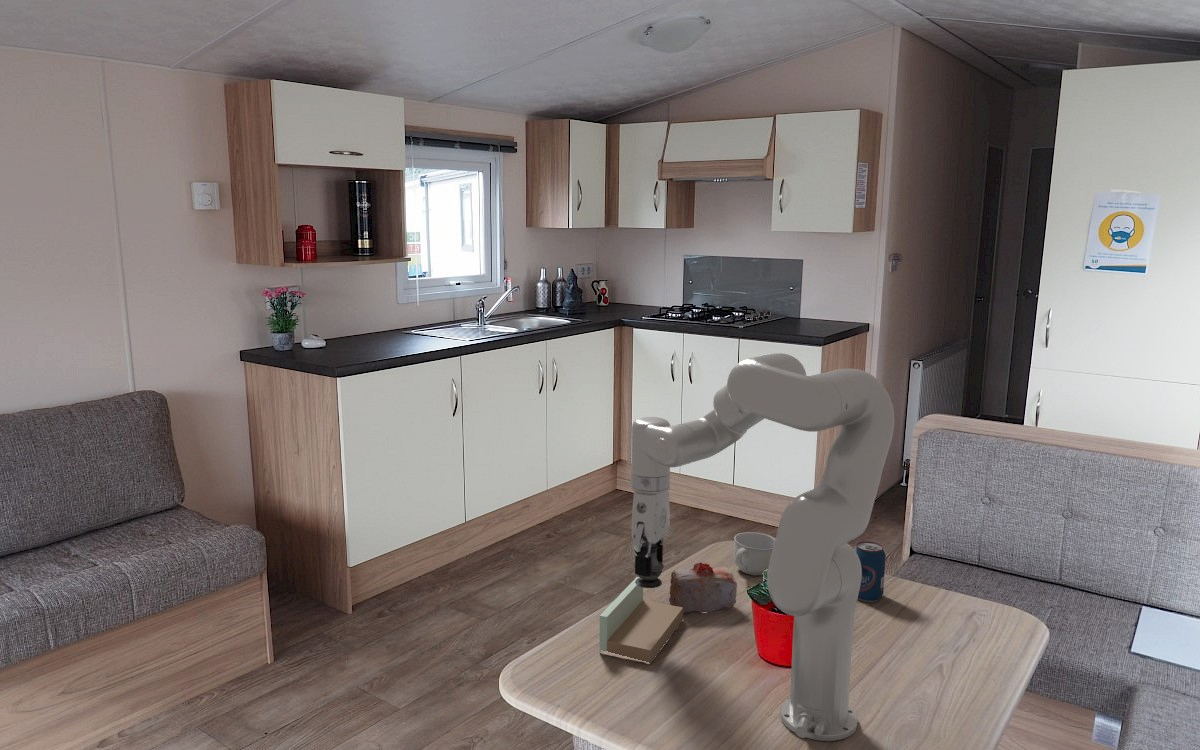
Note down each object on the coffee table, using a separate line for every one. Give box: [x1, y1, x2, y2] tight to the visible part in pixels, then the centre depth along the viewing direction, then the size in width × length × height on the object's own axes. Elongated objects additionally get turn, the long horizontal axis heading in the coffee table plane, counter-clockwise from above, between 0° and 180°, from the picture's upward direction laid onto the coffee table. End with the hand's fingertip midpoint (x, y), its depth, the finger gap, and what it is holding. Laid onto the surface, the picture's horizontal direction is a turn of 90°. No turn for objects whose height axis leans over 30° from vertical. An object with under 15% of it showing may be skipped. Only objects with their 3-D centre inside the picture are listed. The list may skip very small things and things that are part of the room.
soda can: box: [853, 541, 887, 603], centre depth 192 cm, size 7×7×12 cm
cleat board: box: [599, 576, 684, 663], centre depth 173 cm, size 20×10×8 cm, turn 157°
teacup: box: [733, 531, 776, 576], centre depth 205 cm, size 14×11×8 cm
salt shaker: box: [633, 537, 665, 589], centre depth 169 cm, size 6×6×12 cm
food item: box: [668, 561, 738, 613], centre depth 187 cm, size 14×8×10 cm, turn 103°
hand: (649, 568), depth 170 cm, fingers closed on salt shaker, 5 cm apart
